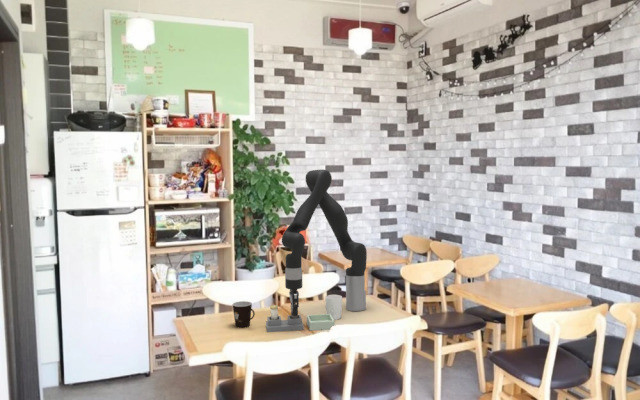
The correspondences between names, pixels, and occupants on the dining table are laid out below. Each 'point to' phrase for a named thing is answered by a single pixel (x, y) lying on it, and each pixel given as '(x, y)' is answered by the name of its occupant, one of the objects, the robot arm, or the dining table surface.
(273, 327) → the fuse block
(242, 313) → the coffee mug
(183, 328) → the dining table surface
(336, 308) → the white cup
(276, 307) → the fuse
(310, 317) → the parts tray
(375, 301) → the dining table surface
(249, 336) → the dining table surface
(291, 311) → the fuse
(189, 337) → the dining table surface
